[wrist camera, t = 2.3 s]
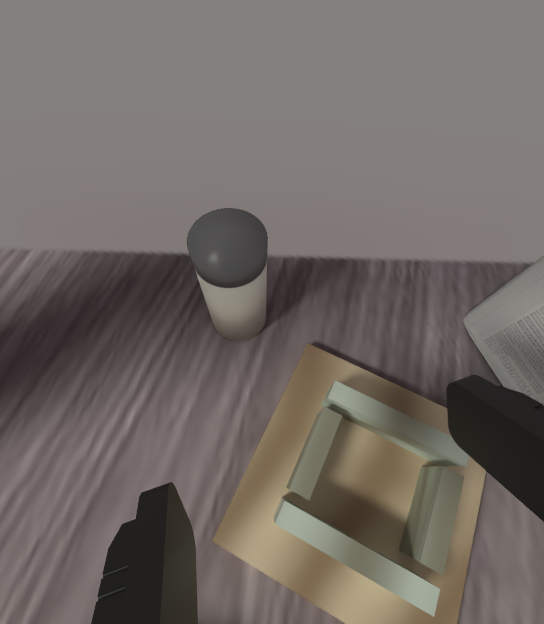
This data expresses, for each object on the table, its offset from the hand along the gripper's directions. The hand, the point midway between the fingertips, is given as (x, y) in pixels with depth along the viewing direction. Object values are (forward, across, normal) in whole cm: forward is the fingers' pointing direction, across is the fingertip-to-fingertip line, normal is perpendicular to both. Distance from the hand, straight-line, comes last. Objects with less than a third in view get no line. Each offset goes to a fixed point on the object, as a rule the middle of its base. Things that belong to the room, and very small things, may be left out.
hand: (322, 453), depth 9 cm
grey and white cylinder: (+19, 0, +2) cm, 19 cm away
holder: (+9, -4, +12) cm, 16 cm away
